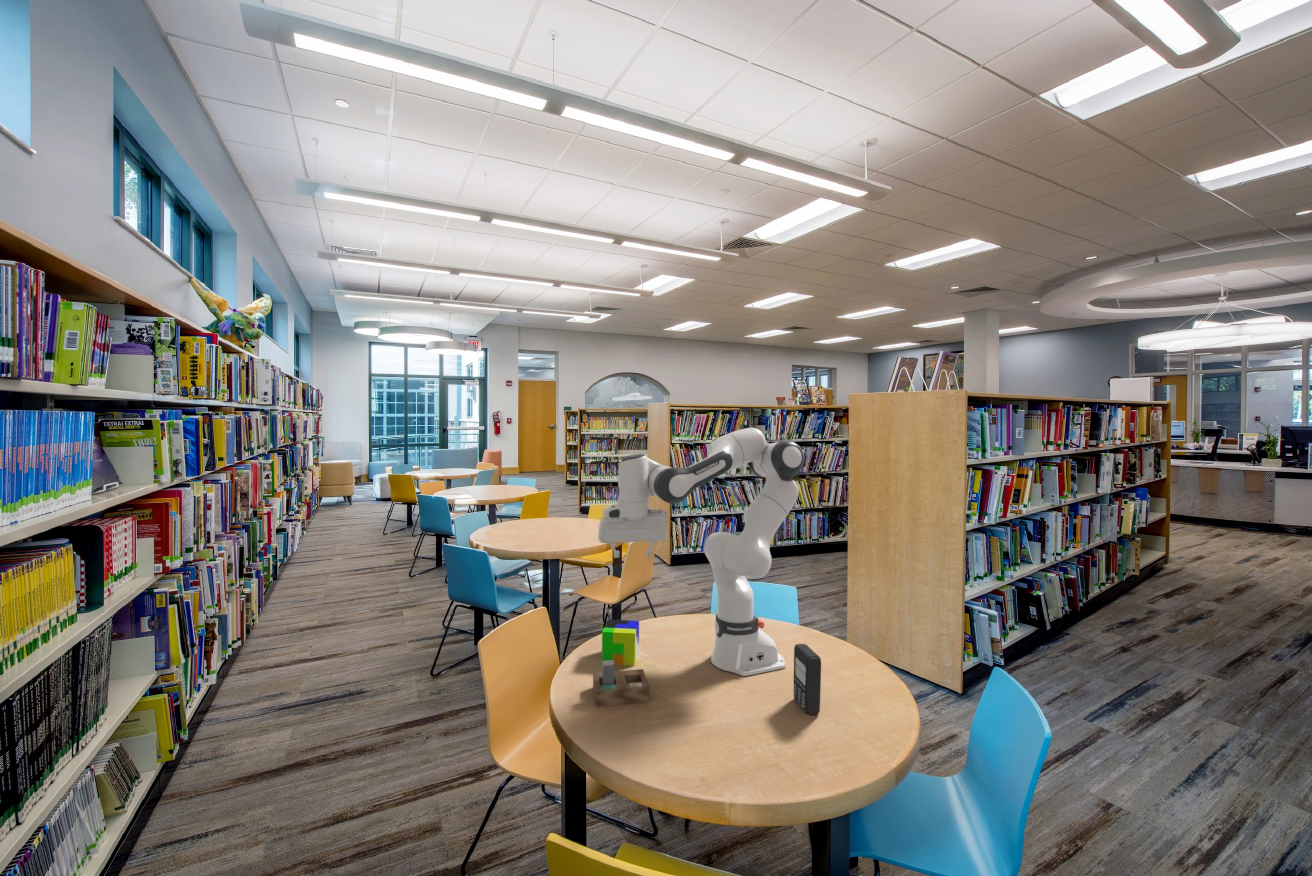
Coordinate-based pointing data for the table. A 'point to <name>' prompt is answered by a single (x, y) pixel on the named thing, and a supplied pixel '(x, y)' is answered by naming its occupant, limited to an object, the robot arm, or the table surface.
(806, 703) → the card reader
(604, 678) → the plug
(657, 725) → the table surface
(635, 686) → the socket block
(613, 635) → the puzzle toy
